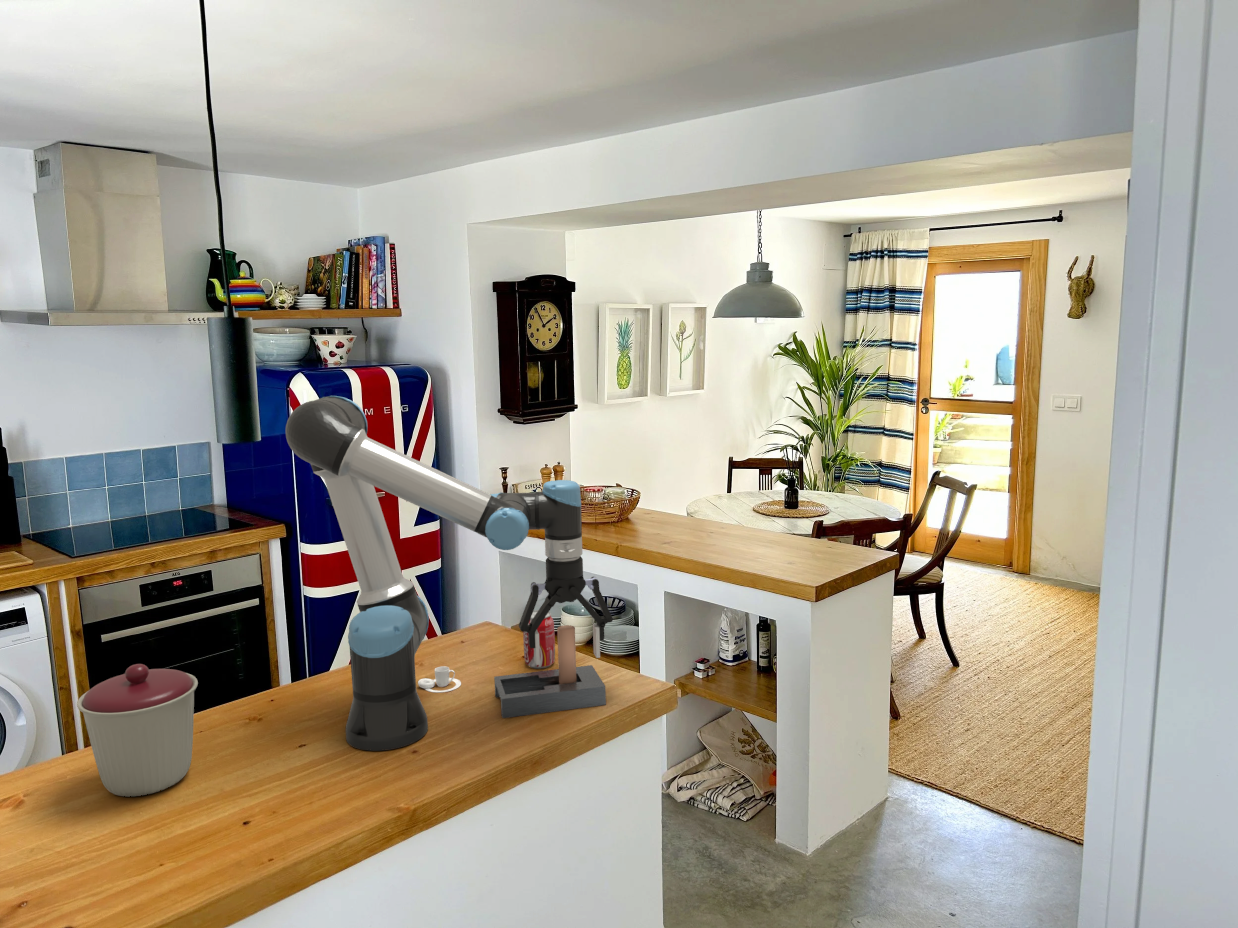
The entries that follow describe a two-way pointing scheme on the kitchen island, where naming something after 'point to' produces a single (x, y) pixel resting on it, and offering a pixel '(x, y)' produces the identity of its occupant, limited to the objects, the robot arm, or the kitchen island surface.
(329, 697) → the kitchen island surface
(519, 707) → the keyhole plate
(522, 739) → the kitchen island surface
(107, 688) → the canister
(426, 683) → the teacup and saucer
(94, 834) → the kitchen island surface
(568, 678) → the terracotta peg
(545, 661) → the soda can
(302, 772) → the kitchen island surface
